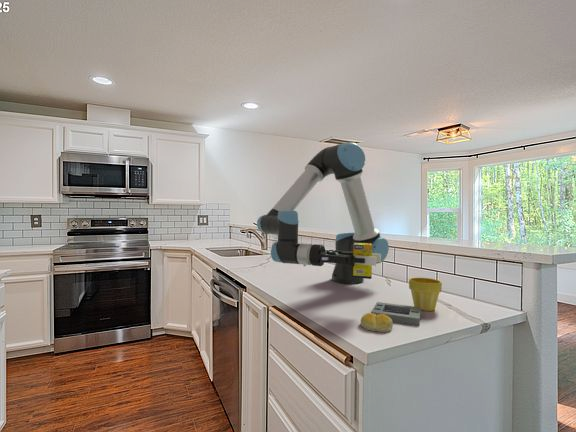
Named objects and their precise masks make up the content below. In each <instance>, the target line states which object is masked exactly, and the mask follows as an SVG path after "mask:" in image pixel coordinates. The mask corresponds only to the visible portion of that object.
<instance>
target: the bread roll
mask: <svg viewBox="0 0 576 432" xmlns="http://www.w3.org/2000/svg"><path fill="white" fill-rule="evenodd" d="M360 325H361V327H362V328H364V329H365V330H367V331H371V332H379V333H390V332H391V331H392V330H393V327H394V326H393V325H394V322H393V321H392V320H391V318H390V317H389V316H387V315H385V314H379V315H376V314H374V313H371V312H369V313H365V314H363V315H362V316H361V318H360Z"/></svg>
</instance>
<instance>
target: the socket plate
mask: <svg viewBox="0 0 576 432" xmlns="http://www.w3.org/2000/svg"><path fill="white" fill-rule="evenodd" d="M370 313H374V314H376V315H379V314H385V315H387V316H389V317H390V318H391V320H392V321H393V323H402V324H408V325H412V326H413V325H415V326H420V323H421V314H422V310H421V307H414V305H413V306H412V305H404V304H398V303H387V302H381V301H377V302H376V303H375V305H374V306H373V308H372V309H371V311H370Z"/></svg>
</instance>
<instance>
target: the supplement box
mask: <svg viewBox="0 0 576 432" xmlns="http://www.w3.org/2000/svg"><path fill="white" fill-rule="evenodd" d="M356 255H357V256H371V257H372V244H371V243H354V245H353V256H356ZM372 269H373V267H372V265H360V264H354V266H353V278H364V280H365V279H367V280H371V279H372V278H373V276H372V275H373V271H372Z"/></svg>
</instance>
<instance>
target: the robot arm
mask: <svg viewBox="0 0 576 432" xmlns="http://www.w3.org/2000/svg"><path fill="white" fill-rule="evenodd" d="M365 164H366V154H365V152H364V150H363V148H362V147H361V146H360V145H358V144H357V143H355V142H353V141H352V142H350V141H349V142H344V143H343V142H342V143H340V144H337V145H333V146H327V147H325V148H323V149H321V150H320V151H319V152H318V153H316V154H315V155H314V156H313V157H312V158H311V160H309V162H307V164H306V165H305V167H304V171H303V172H302V173H301V174H300V176H299V177H298V178H297V179H296V180H295V181H294V183H293V184H292V185H291V186H290V187H289V188H288V189H287V190H286V192H285V193H284V194H283V195H282V196H281V198H280V199H279V200H278V201H277V202H276V203H275V204H274V205H273V207H272V208H271V209H270V210H269V211H268V212H267V214H263V215H261V216H259V217H258V218H257V221H256V227H257V229H258V230H259V232H261V233H263V234H265V235H266V234H267V235H276V236H277V241H276V242H273V244H272V245H271V249H270V256H271V259H272V261H274V262H275V263H276V262H277V263H282V264H291V265H303V267H306V266H315V267H322V266H324V264H325V263H328V264H329V263H331V264H334V267H333V271H332V273H331V281H333V282H335V283H340V284H351V285H352V284H360V283H363V282H364V280H365V278H353V266H354V264H360V265H372V266H373V267H374V266H375V267H377V265H378V264H381V263H383V262H384V261H385V260H386V258H387V256H388V254H389V249H390V246H389V242H388V240H387V239H386V238H385V237H382V236H381V234H380V231H379V229H377V228H376V227H375V225H374V222H373V219H372V214H371V211H370V207H369V204H368V200H367V196H366V193H365V188H364V185H363V181H362V178H361V176H362V174H363V173H364V172H363V168H364V166H365ZM333 174H334V178H335V181H337V182H339V183H340V187H341V189H342V193H343V195H344V199H345V203H346V207H347V210H348V213H349V216H350V220H351V223H352V226H353V227H352V228H353V231H354V232H342V233H341V232H340V233H337V235H336V236H335V242H334V243H335V249H328V250H326V248H325V246H324V245H323V244H315V243H314V244H312V243H299V239H298V238H299V213H298V211H297V210H296V209H297V207H298V206H300V204H301V203H302V201H303V200H304V199H305V198H306V197H307V196H308V194H309V193H310V192H311V191H312V190H313V189H314V187H315V186H316V185H317V184H318V182H319V183H320V182H322V181H323V180H324V179H325V178H326V177H328V176H330V175H333ZM354 243H371V244H372V257H371V256H357V255H356V256H353V245H354Z"/></svg>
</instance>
